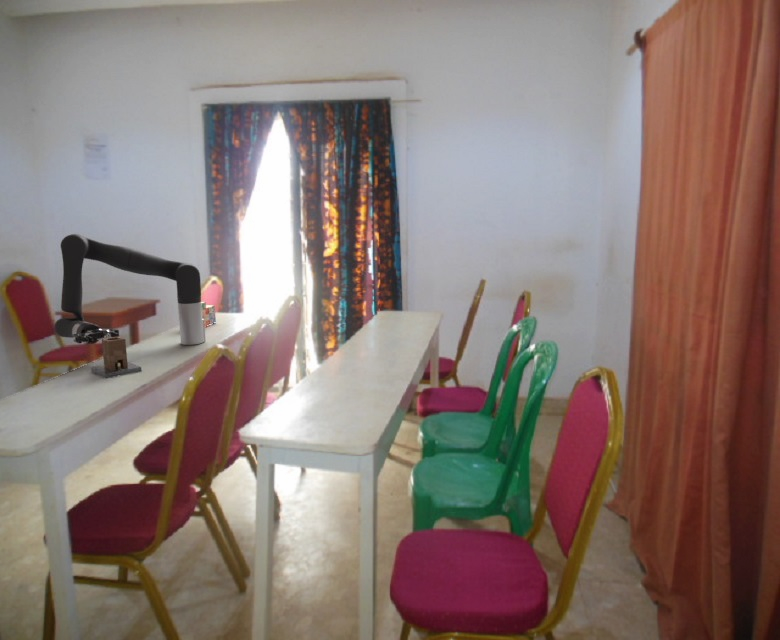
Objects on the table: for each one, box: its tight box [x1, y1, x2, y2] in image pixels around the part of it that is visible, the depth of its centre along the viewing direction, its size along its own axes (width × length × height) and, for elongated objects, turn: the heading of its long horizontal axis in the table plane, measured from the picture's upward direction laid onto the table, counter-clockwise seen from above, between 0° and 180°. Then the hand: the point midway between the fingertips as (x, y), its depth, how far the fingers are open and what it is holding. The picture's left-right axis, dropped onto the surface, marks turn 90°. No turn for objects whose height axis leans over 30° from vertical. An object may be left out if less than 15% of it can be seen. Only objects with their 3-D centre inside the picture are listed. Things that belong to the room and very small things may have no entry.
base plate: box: [90, 360, 142, 379], centre depth 203 cm, size 12×12×6 cm
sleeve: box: [101, 336, 128, 370], centre depth 202 cm, size 6×6×10 cm
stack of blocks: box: [201, 301, 217, 326], centre depth 280 cm, size 21×6×12 cm, turn 171°
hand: (104, 338), depth 207 cm, fingers open, 8 cm apart
